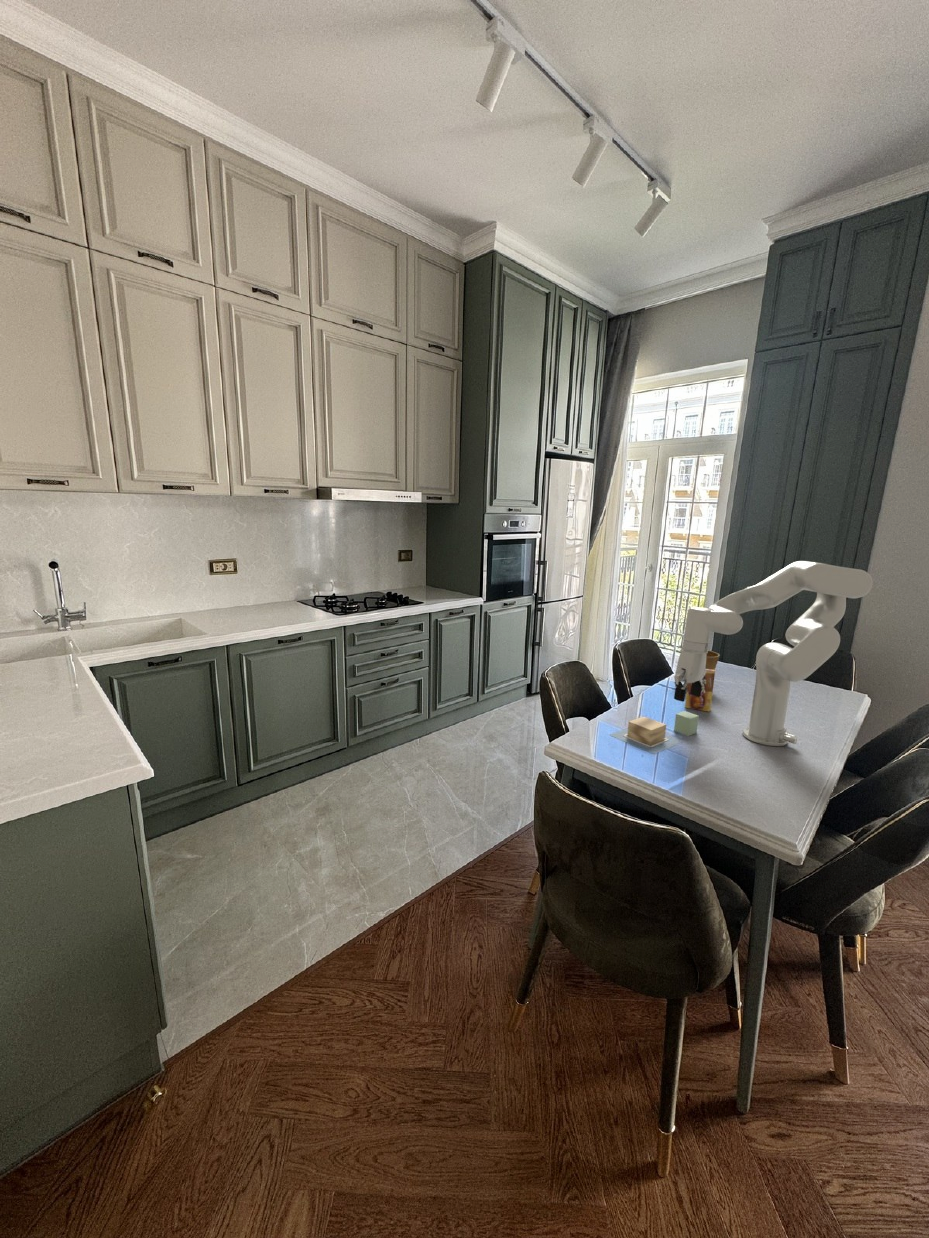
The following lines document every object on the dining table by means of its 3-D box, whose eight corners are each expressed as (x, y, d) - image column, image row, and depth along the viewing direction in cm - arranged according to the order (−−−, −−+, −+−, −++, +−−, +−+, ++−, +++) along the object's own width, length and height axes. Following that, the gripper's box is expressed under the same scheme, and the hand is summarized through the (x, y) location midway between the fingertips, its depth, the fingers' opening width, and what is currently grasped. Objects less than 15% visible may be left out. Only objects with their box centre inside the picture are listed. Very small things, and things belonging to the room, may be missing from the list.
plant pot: (700, 696, 204) (705, 658, 201) (668, 686, 216) (672, 649, 213) (722, 691, 212) (727, 654, 209) (689, 681, 224) (694, 646, 221)
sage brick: (696, 735, 165) (698, 715, 164) (687, 739, 162) (690, 718, 161) (681, 730, 169) (684, 710, 168) (673, 734, 166) (675, 713, 165)
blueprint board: (683, 744, 158) (683, 740, 157) (653, 757, 148) (654, 753, 148) (638, 727, 170) (638, 723, 170) (608, 738, 161) (608, 734, 160)
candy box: (710, 708, 191) (715, 669, 188) (710, 712, 187) (715, 672, 184) (684, 704, 195) (689, 665, 192) (684, 707, 191) (689, 668, 188)
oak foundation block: (664, 739, 158) (666, 724, 157) (649, 745, 153) (651, 730, 152) (642, 730, 164) (643, 716, 163) (627, 736, 160) (628, 721, 159)
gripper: (698, 641, 168) (690, 690, 171) (669, 646, 158) (661, 698, 161) (720, 646, 162) (712, 697, 165) (692, 652, 152) (683, 706, 155)
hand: (687, 697), depth 163 cm, fingers open, 9 cm apart
